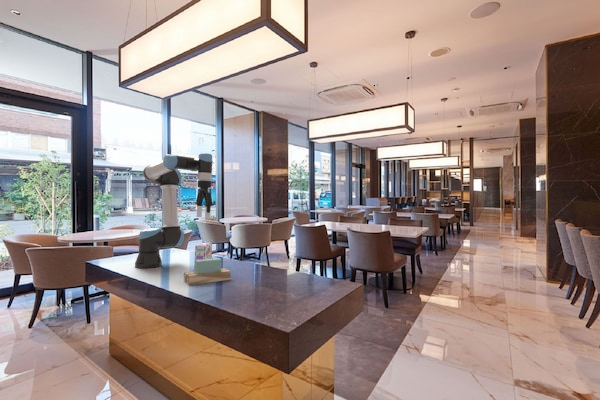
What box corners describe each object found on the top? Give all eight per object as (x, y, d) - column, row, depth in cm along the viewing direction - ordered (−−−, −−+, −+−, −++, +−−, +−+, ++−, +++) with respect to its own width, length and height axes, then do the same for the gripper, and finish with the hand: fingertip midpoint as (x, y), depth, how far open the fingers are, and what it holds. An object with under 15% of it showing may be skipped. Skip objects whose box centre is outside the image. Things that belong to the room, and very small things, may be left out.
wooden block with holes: (183, 281, 155) (184, 272, 155) (223, 275, 168) (224, 268, 168) (189, 285, 148) (189, 276, 148) (230, 279, 161) (230, 271, 161)
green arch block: (193, 279, 156) (194, 260, 156) (217, 276, 164) (218, 257, 164) (196, 281, 152) (197, 261, 152) (220, 277, 160) (221, 259, 160)
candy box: (203, 274, 171) (205, 245, 171) (193, 273, 171) (194, 245, 171) (211, 268, 184) (212, 242, 185) (202, 268, 185) (203, 242, 185)
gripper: (191, 180, 177) (189, 216, 177) (206, 179, 157) (204, 219, 157) (203, 181, 181) (202, 216, 181) (219, 180, 162) (218, 219, 161)
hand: (203, 217), depth 169 cm, fingers open, 13 cm apart
